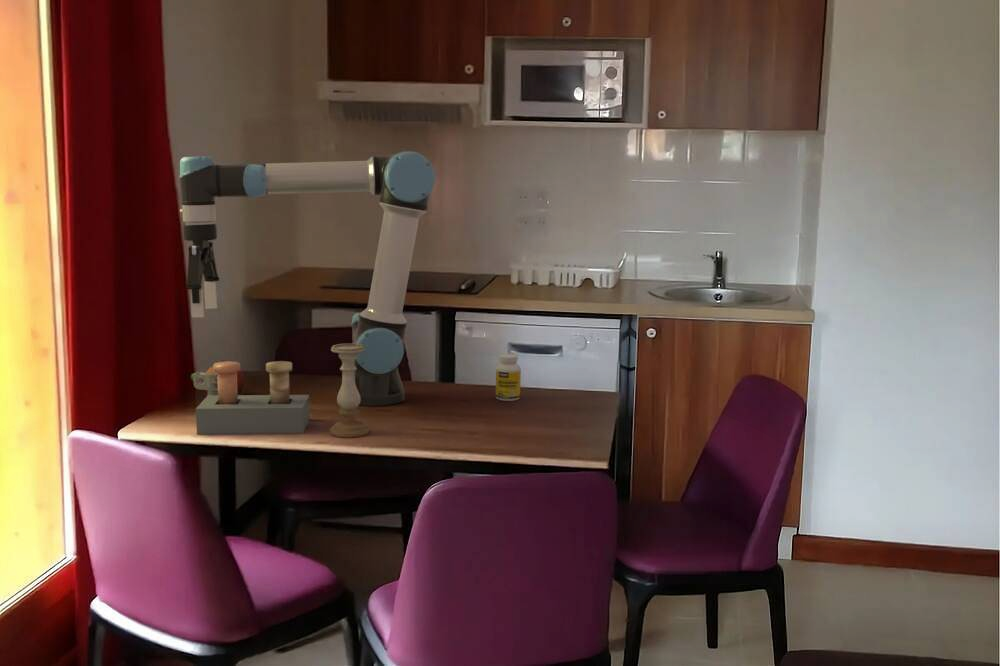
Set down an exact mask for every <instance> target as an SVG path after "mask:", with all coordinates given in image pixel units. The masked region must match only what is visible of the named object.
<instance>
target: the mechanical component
mask: <svg viewBox="0 0 1000 666" xmlns="http://www.w3.org/2000/svg"><path fill="white" fill-rule="evenodd" d="M190 380H192V382H193V387H194V388H195V389H196V390H201V391H202V390H205V391H206V392H207V391H208V392H207V393H206V397H207V396H208V395H218V394H217V390H218V380H217V373H209V372H207V371H205V372H204V371H197V372H195V373H191V375H190Z"/></svg>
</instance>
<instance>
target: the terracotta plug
mask: <svg viewBox="0 0 1000 666" xmlns="http://www.w3.org/2000/svg"><path fill="white" fill-rule="evenodd" d="M226 361H227V362H221V361H219V362H218V361H217V362H214V363H213V364H212V365H213V369H214V372H217V380H218V404H238V395H239V394H238V393H237V371H240V370H241V363H240V362H239V361H228V360H226Z"/></svg>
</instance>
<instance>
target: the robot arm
mask: <svg viewBox="0 0 1000 666" xmlns="http://www.w3.org/2000/svg"><path fill="white" fill-rule="evenodd" d="M435 180H436V175H435V170H434V167H433V165H432V163H431V161H430V160H429V159H428V158H427V157H425V155H423V154H421V153H419V152H416V151H414V150H413V151H409V150H405V151H403V150H402V151H400V152H396V153H393V154H387V155H379V156H371V157H369V158H368V159H367V160H352V161H351V160H349V161H348V160H347V161H346V160H345V161H313V162H312V161H311V162H279V163H278V162H275V163H269V162H268V163H240V164H215V163H214V161H213V158H212V157H211V156H183V157H182V158H181V159H180V160H179V183H180V196H181V208H180V209H179V212H180V214H182V221H183V223H185V224H184V225H182V227H183V228H182V231H183V233H182V234H183V239H184V240H185V241H189V242H190V241H191V242H192V245H189V246H188V248H187V249H188V262H187V263H188V264H187V281H186V282H187V283H186V285H185V289H186V290H189V293H190V294H189V296H190V311H191V318H205V310H207V309H209V310H211V309H212V310H213V309H218V296H217V282H220V276H219V275H218V269H217V264H216V258H215V253H214V243H213V241H214V240H217V238H218V232H217V224H216V223H215V222H216V221H217V212H216V198H245V197H246V198H257V197H264V196H266V195H276V194H277V195H279V194H282V195H283V194H286V195H287V194H310V193H313V194H315V193H319V194H320V193H351V192H352V193H353V192H355V193H357V192H369V193H370V194H371V195H373V196H380V197H379V202H378V204H379V205H380V207H381V208H382V210H383V217H382V223H381V228H380V233H379V238H378V239H379V240H378V245H377V250H376V255H375V256H376V257H375V262H374V268H373V274H372V278H371V280H372V281H371V285H370V291H369V297H368V301H367V307H366V308H365V309H364V310H363V311H360V313H359V312H357V313H355V314H353V315H352V320H351V329H352V332H351V334H352V344H361V345H363V346H364V347H365V350H364V351H363V352H359V353H357V357H356V359H355V360H354V365H355V366H356V368H357V369H356V370H355V373H354V376H355V384H356V387H357V390H358V392H359V394H360V397H361V401H360V404H359V405H358V406H366V407H367V406H368V407H369V406H370V407H371V406H372V407H376V406H377V407H378V406H390V405H395V404H398V403H401V402H403V401H405V399H406V398H405V397H406V396H405V395H406V394H405V393H406V392H405V388H404V385H403V382H402V379H401V376H400V373H399V369H398V367H399V365H400V364H401V361H402V359H403V357H404V354H405V349H404V348H405V346H404V339H405V334H406V327H407V323H408V321H407V319H406V318H405V316H404V314H403V309H404V304H405V298H406V294H407V289H408V288H407V287H408V281H409V277H410V271H411V265H412V260H413V254H414V249H415V244H416V238H417V233H418V228H419V227H418V226H419V220H420V218H421V217H422V216H423V215H424V214H426V213H427V211H428V206H429V201H430V194H431V192H432V190H433V188H434V187H435V182H436V181H435ZM203 277H204V282H203ZM202 284H203V288H202ZM204 309H205V310H204Z"/></svg>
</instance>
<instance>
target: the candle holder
mask: <svg viewBox="0 0 1000 666" xmlns="http://www.w3.org/2000/svg"><path fill="white" fill-rule="evenodd" d="M364 350H365V347H364V346H363V345H361V344H353V343H339V344H338V343H337V344H333V345H332V346H331V348H330V351H331V352H332V353H335V354H338V358H339V359H340V360H341V366H340V368H339V370H340V371H341V374H342V375H341V377H342V378H341V386H340V388H339V391H338V394H337V395H336V402H337V403H336V404H337V405H338V407H340V409H339V410H338V414H339V415H340V417H341V420H340V421H337V422H335V423H334V424H333V426H331V427H330V429H329V434H330V435H331V436H334V437H338V438H357V437H363V436H365V435H367V434H368V433H369V427H368V426H367V425H365V424H364V423H365V422H363V421H361V420H358V419H357V418H358V416H359V413H360V410H359V408H358V406H360V405H359V404H360V401H361V397H360V394H359V392H358V390H357V387H356V384H355V376H354V373H355V370H356V369H357V368H356V366H355V365H354V360H355V359H356V357H357V353H359V352H363V351H364Z"/></svg>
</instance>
